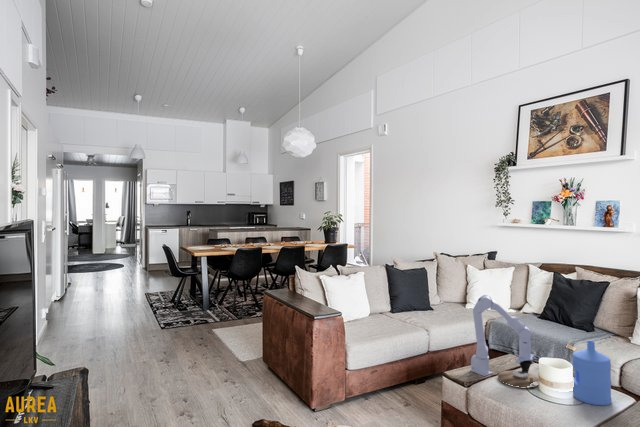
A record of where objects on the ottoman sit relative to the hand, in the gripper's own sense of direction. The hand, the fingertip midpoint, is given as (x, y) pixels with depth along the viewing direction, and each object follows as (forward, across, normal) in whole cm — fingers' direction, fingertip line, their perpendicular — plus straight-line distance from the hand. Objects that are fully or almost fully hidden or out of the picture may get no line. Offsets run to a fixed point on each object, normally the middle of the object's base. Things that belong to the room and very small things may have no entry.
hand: (525, 373), depth 223 cm
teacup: (+3, +14, -14) cm, 20 cm away
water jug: (+3, +3, -32) cm, 32 cm away
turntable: (+3, -7, 0) cm, 7 cm away
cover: (+1, -5, 0) cm, 5 cm away
